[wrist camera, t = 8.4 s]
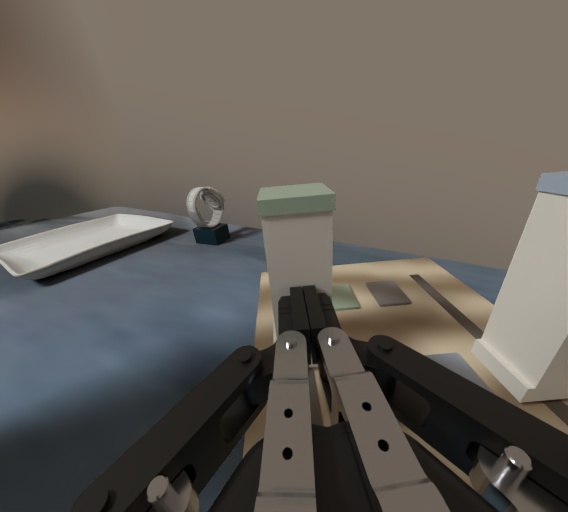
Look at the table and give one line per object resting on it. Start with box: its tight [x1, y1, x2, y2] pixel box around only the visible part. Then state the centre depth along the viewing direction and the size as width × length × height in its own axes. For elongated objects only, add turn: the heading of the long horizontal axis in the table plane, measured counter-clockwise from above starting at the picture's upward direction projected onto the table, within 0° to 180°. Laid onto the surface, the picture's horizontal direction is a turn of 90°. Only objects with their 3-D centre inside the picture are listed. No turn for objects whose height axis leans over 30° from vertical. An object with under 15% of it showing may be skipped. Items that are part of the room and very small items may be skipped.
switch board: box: [243, 257, 568, 489], centre depth 20 cm, size 24×22×2 cm
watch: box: [187, 187, 230, 245], centre depth 46 cm, size 6×8×11 cm
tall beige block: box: [257, 183, 336, 367], centre depth 15 cm, size 4×4×12 cm
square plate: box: [0, 214, 174, 280], centre depth 51 cm, size 27×27×4 cm
